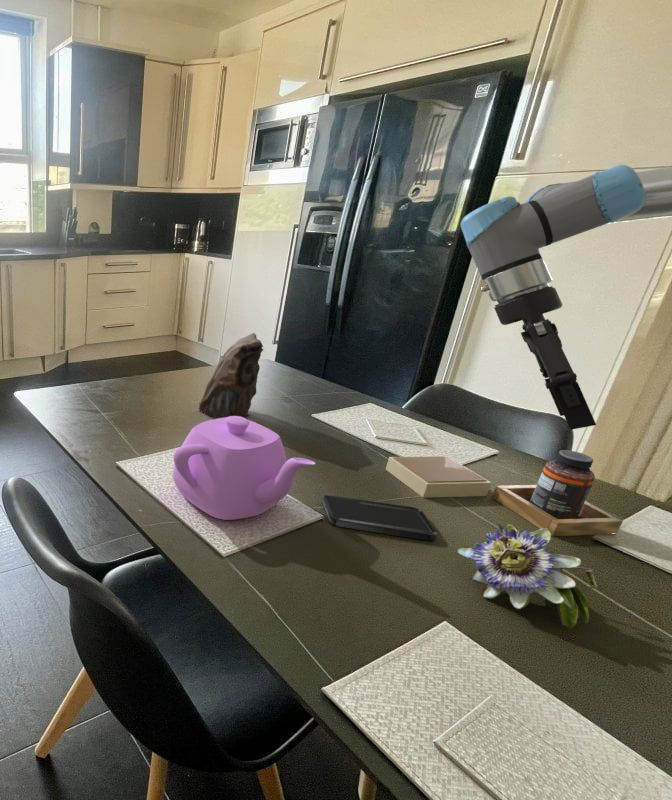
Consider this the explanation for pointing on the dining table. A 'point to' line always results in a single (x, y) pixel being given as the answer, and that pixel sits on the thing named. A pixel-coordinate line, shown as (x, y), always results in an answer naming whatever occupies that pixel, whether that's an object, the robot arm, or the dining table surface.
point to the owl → (233, 380)
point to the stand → (437, 476)
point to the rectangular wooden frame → (591, 523)
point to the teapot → (234, 468)
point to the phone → (378, 517)
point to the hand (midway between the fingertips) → (576, 420)
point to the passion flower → (528, 571)
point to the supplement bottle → (564, 485)
